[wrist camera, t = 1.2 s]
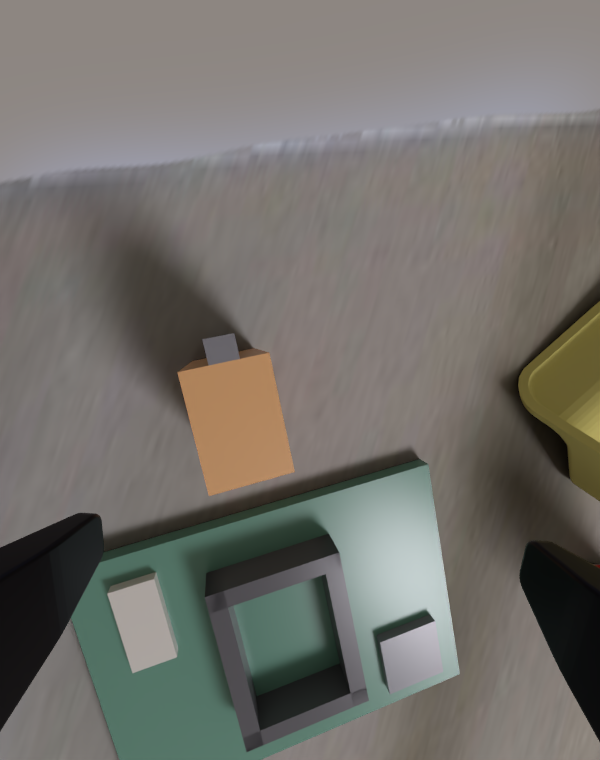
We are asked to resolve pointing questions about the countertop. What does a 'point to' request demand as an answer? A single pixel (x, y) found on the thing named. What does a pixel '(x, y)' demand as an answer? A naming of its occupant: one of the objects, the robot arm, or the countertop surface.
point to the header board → (270, 621)
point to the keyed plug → (235, 415)
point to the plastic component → (570, 396)
